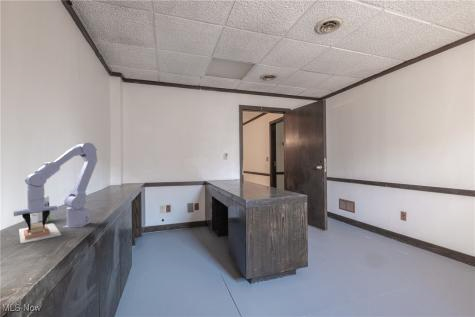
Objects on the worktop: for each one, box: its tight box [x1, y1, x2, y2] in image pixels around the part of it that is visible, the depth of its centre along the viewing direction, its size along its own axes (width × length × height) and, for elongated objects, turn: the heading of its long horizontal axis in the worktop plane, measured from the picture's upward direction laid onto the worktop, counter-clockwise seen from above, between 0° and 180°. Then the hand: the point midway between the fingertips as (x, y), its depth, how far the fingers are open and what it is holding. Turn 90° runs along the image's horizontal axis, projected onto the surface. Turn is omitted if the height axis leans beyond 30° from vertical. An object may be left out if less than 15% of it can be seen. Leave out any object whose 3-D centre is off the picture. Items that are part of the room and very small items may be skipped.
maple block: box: [30, 222, 43, 234], centre depth 98 cm, size 8×4×3 cm, turn 47°
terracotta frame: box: [24, 226, 50, 240], centre depth 98 cm, size 12×8×2 cm, turn 47°
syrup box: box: [30, 195, 51, 224], centre depth 117 cm, size 6×6×14 cm
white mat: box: [18, 222, 62, 245], centre depth 101 cm, size 13×26×1 cm, turn 47°
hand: (36, 228), depth 98 cm, fingers closed on maple block, 4 cm apart
